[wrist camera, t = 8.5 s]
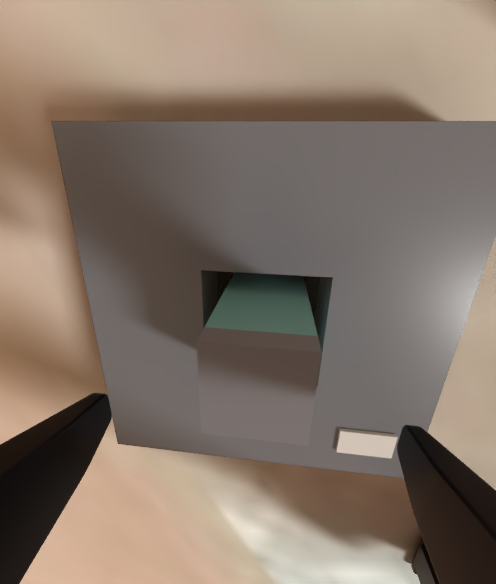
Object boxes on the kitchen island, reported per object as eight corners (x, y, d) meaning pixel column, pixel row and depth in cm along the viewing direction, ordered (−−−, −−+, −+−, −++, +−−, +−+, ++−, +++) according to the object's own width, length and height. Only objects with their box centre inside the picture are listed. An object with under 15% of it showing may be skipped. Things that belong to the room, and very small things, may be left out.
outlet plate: (470, 137, 13) (540, 119, 9) (389, 429, 19) (412, 482, 16) (103, 135, 14) (47, 120, 11) (143, 403, 21) (116, 446, 18)
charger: (303, 274, 16) (321, 352, 9) (297, 335, 17) (308, 445, 10) (235, 271, 16) (196, 341, 9) (234, 330, 18) (201, 433, 10)
